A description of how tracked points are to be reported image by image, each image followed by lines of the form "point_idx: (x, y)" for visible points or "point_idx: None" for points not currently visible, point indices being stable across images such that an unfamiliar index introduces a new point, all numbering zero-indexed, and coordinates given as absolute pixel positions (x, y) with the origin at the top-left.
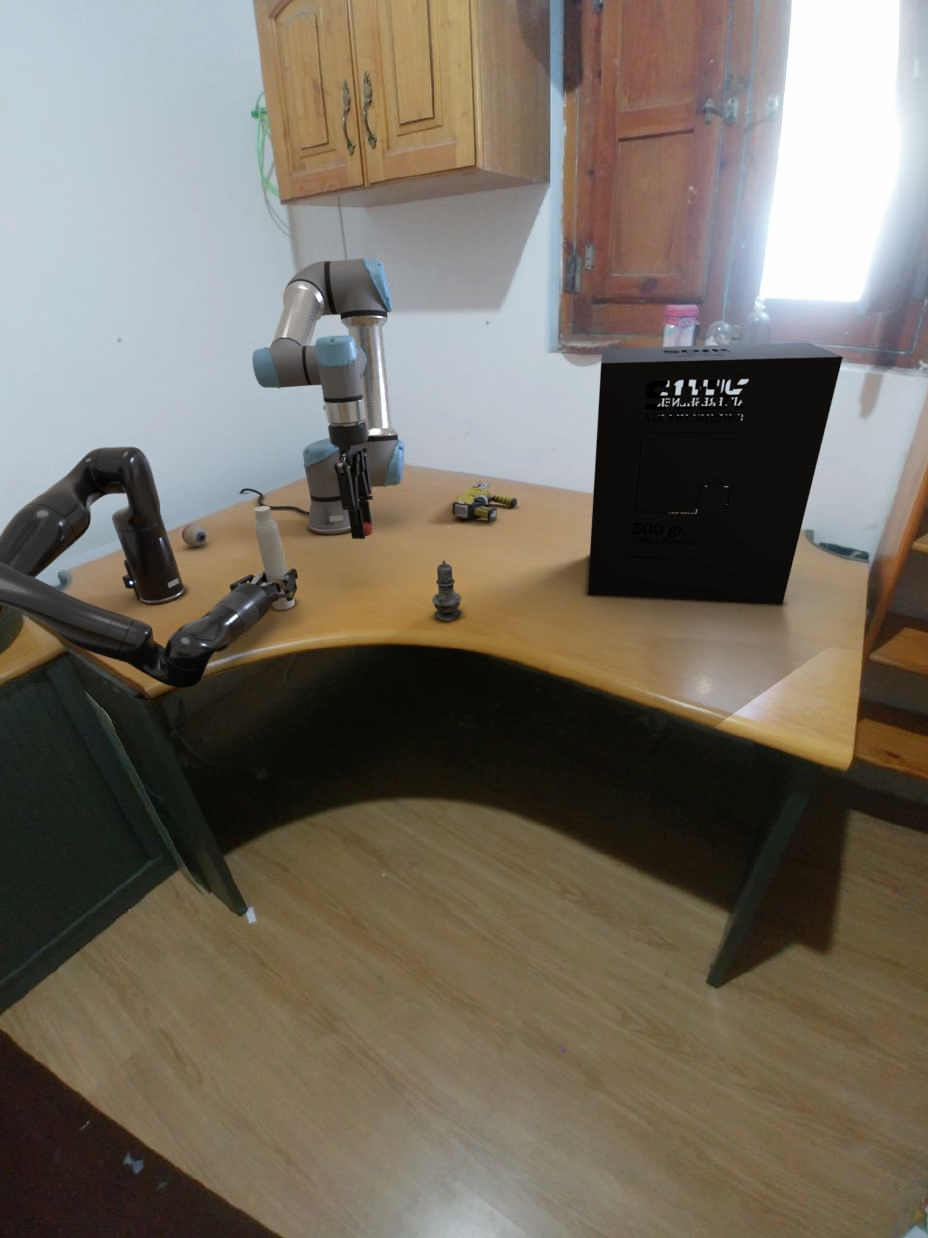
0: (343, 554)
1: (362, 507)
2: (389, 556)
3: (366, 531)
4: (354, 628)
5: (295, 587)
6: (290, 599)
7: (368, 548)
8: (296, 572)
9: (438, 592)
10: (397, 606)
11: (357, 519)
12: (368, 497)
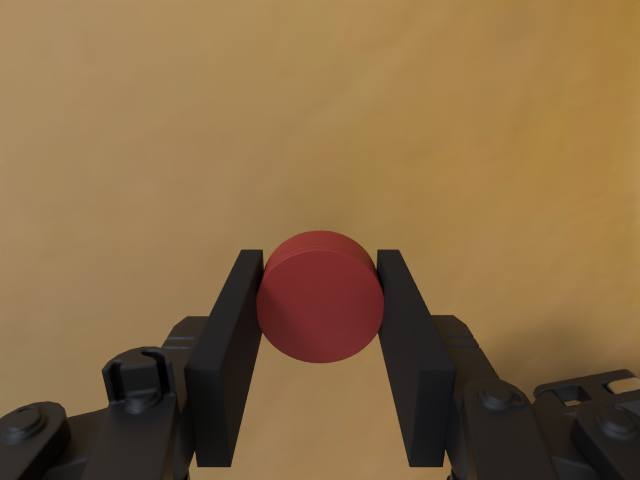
0: (110, 358)
1: (237, 380)
2: (80, 200)
3: (363, 257)
4: (623, 148)
5: (553, 391)
6: (633, 374)
7: (37, 297)
8: None
9: None
10: (484, 40)
11: (454, 339)
12: (155, 393)
